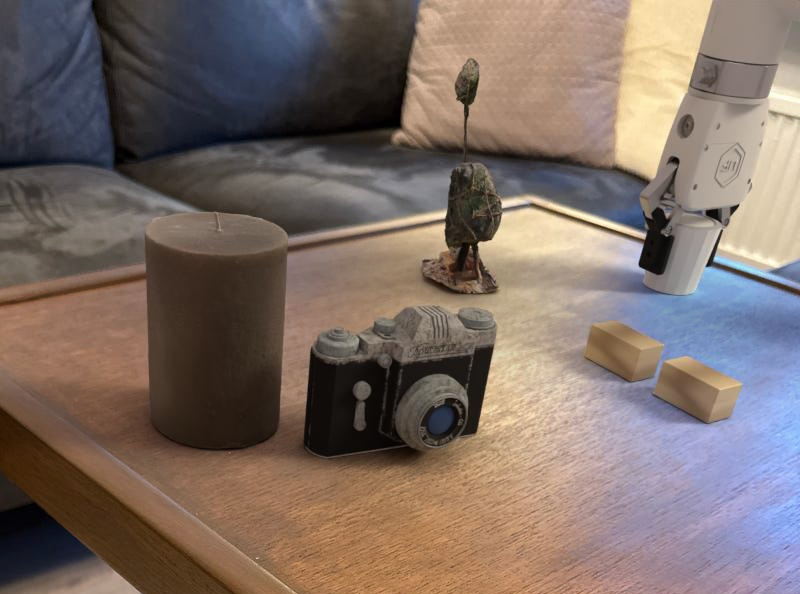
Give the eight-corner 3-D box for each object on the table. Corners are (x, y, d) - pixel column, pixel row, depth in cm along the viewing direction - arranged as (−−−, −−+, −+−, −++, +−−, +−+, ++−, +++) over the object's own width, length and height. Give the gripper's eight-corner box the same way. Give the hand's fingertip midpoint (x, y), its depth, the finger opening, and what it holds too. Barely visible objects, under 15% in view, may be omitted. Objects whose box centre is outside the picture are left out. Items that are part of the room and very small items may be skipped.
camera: (334, 482, 68) (348, 343, 62) (294, 437, 73) (304, 304, 66) (510, 452, 74) (540, 322, 67) (463, 412, 78) (487, 287, 72)
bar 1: (654, 376, 87) (664, 344, 85) (631, 382, 86) (640, 349, 84) (606, 351, 91) (614, 319, 89) (582, 356, 89) (591, 324, 88)
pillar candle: (253, 461, 69) (262, 243, 60) (127, 433, 71) (116, 217, 62) (296, 406, 77) (310, 204, 67) (180, 381, 78) (178, 181, 69)
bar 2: (730, 417, 82) (743, 383, 80) (707, 423, 80) (719, 389, 78) (676, 388, 85) (686, 355, 84) (652, 394, 84) (662, 360, 82)
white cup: (678, 301, 103) (700, 232, 99) (624, 281, 107) (643, 213, 103) (713, 290, 107) (735, 223, 103) (659, 271, 111) (679, 205, 106)
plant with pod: (421, 298, 98) (454, 70, 85) (419, 261, 106) (449, 49, 94) (502, 307, 98) (547, 79, 85) (493, 269, 106) (533, 58, 94)
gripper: (701, 90, 88) (644, 288, 99) (819, 85, 96) (754, 269, 107) (640, 73, 93) (592, 264, 104) (757, 70, 101) (701, 248, 112)
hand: (674, 265), depth 106 cm, fingers closed on white cup, 6 cm apart
